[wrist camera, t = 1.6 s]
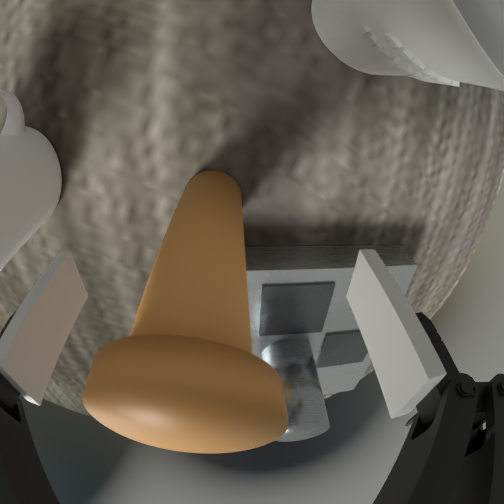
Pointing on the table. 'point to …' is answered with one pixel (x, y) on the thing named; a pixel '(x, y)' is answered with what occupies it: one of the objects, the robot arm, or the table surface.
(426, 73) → the mug
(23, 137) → the mug
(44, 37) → the table surface
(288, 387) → the checkered knob plate
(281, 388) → the tan wooden pestle
